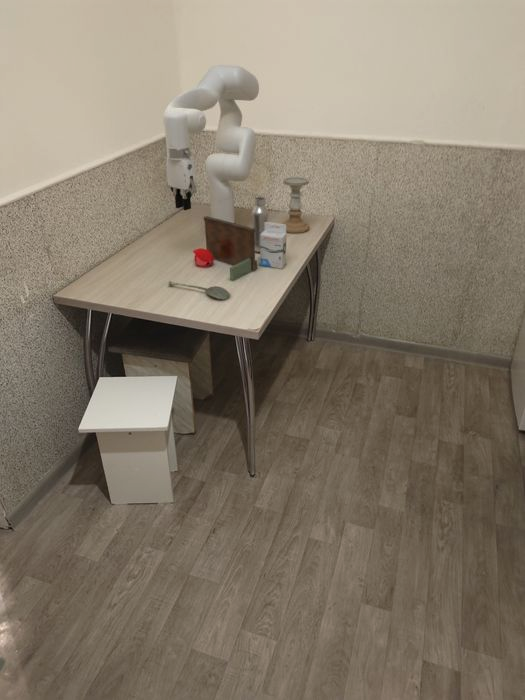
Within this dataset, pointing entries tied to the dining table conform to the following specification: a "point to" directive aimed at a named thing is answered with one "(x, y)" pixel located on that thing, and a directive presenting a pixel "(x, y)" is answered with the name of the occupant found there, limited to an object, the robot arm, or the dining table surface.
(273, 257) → the ink box
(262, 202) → the silver metal bottle
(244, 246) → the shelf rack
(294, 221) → the candle holder
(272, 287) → the dining table surface
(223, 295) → the soupspoon
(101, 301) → the dining table surface
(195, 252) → the red rounded piece
